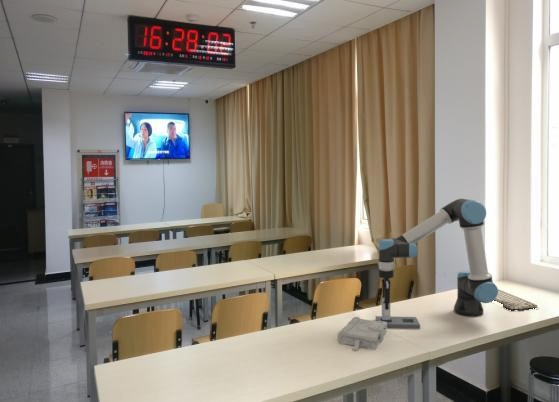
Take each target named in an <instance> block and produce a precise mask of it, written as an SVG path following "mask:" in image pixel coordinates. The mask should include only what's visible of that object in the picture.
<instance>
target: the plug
mask: <svg viewBox="0 0 559 402" xmlns="http://www.w3.org/2000/svg"><path fill="white" fill-rule="evenodd" d="M383 302H384V298H383V297H382V298H381V316H382V320H390V316H391V302H390V303H389V316H386V315H384V303H383Z"/></svg>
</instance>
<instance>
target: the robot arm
mask: <svg viewBox="0 0 559 402" xmlns="http://www.w3.org/2000/svg"><path fill="white" fill-rule="evenodd" d="M486 216H487V209H486V207H485V205H484V204H483V203H482V202H481V201H478V200H475V199H468V198H467V199H466V198H458V199H455V200H453V201H451V202H449V203H448V204H446V205H444V206H443V207H441V208H440V209H439V212H437V213H435V214H434V215H432V216H430V217H429V218H427V219H425V220H424V221H422V222H420V223H418V224H417V225H416V226H414V227H412V228H411V229H409V230H408V231H406V232H405V233H402V234H401V235H400V236H398V237H393V238H388V239H387V238H385V239H384V238H383V239H380V240H379V242H378V262H377V265H378V277H379V278H381V287H382V299H383V298H384V302H383V303H384V315H386V316H389V303H390V304H391V280H390V279H393V278H394V277H395V276H394V275H395V270H394V269H395V263H394V262H395V261H394V259H397V258H399V259H402V258H405V259H407V258H408V259H410V258H415V257H417V255H418V247H417V244H416V243H418V242H420V241H421V240H423V239H424V238H427V237H428V236H430V235H431V234H432V233H434V232H435V231H438V230H439V229H441V228H442V227H444V226H445V225H447V224H449V225H451V224H453V223H454V222H457V221H458V223H459V228H460V229H462V230H463V235H464V236H463V237H464V242H465V247H466V248H465V249H466V254H467V261H468V267H469V271H468V270H467V271H466V270H465V271H458V273H457V279H456V280H457V281H456V282H457V286H456V287H457V295H456V297H457V299H456V301H455V303H454V307H453V313H455V314H456V315H459V316H464V317H472V318H473V317H481V316H483V315H484V307H483V304H489V303H492V301H493V300H494V299H495V298H496V297H497V295H498V289H499V288H498V286H497V285H496V283H494V281H493V276H492V274H491V273H489V269H488V264H487V258H486V257H487V256H486V251H485V243H484V239H483V237H484V236H483V232H482V230H483V229H482V228H483V226H484V225H485V218H486Z"/></svg>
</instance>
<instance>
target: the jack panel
mask: <svg viewBox="0 0 559 402" xmlns="http://www.w3.org/2000/svg"><path fill="white" fill-rule="evenodd" d="M375 321H383V322H387V328H386V329H407V330H408V329H410V330H411V329H413V330H414V329H415V330H418V329H419V330H420V329H421V323H420V322H419V320H418V318H417V317H416V316H391V315H390V320H382V315H379V316H378V315H375Z"/></svg>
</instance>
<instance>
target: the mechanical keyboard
mask: <svg viewBox="0 0 559 402" xmlns="http://www.w3.org/2000/svg"><path fill="white" fill-rule="evenodd" d="M494 301H497V302H499V303H501V304H503V307H505V308H506V309H505V308H504V309H505V310H507V309H508V310H507V311H509V310H511V311H510V312H515V311H514V310H518V311H517V312H525V311H524V310H526V311H530V310H529V309H533V308H534V309H535V308H538V305H537V303H533V302H532V301H529V300H526V299H524V298H521V297H518V296H516V295H513V294H512V293H509V292H507V291H504V290H501V289H499V288H498V295H497V297H496V298H495V299H494ZM519 310H520V311H519Z"/></svg>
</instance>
